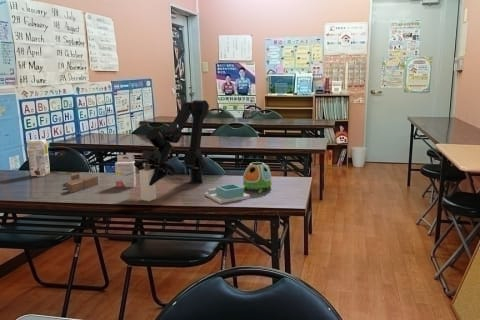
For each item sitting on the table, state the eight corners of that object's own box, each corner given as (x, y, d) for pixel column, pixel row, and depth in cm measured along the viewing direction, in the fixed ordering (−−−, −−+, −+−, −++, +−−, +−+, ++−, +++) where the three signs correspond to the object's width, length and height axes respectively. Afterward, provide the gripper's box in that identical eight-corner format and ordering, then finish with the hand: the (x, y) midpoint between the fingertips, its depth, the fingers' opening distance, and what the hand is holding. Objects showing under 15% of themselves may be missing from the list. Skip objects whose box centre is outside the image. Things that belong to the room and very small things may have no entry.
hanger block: (148, 197, 185) (146, 164, 183) (156, 198, 183) (154, 165, 181) (141, 199, 182) (139, 166, 179) (149, 201, 180) (147, 167, 177)
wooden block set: (99, 173, 209) (70, 182, 193) (100, 184, 210) (72, 194, 194) (72, 170, 216) (42, 178, 200) (73, 181, 217) (44, 190, 201)
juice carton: (45, 176, 228) (41, 140, 224) (29, 177, 228) (25, 141, 224) (51, 173, 235) (48, 138, 231) (36, 173, 235) (32, 139, 232)
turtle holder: (280, 185, 202) (280, 160, 199) (262, 194, 186) (262, 167, 184) (256, 182, 208) (256, 158, 205) (237, 191, 192) (237, 165, 190)
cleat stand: (205, 195, 187) (204, 184, 186) (233, 190, 193) (233, 180, 193) (220, 203, 175) (219, 191, 174) (250, 197, 182) (249, 187, 181)
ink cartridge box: (115, 187, 202) (113, 156, 199) (118, 185, 207) (116, 154, 204) (134, 187, 202) (132, 156, 200) (136, 184, 207) (134, 154, 204)
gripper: (135, 141, 186) (118, 171, 179) (169, 144, 177) (152, 176, 170) (148, 156, 194) (132, 186, 187) (182, 159, 185) (166, 191, 178)
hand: (145, 184), depth 180 cm, fingers closed on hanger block, 4 cm apart
